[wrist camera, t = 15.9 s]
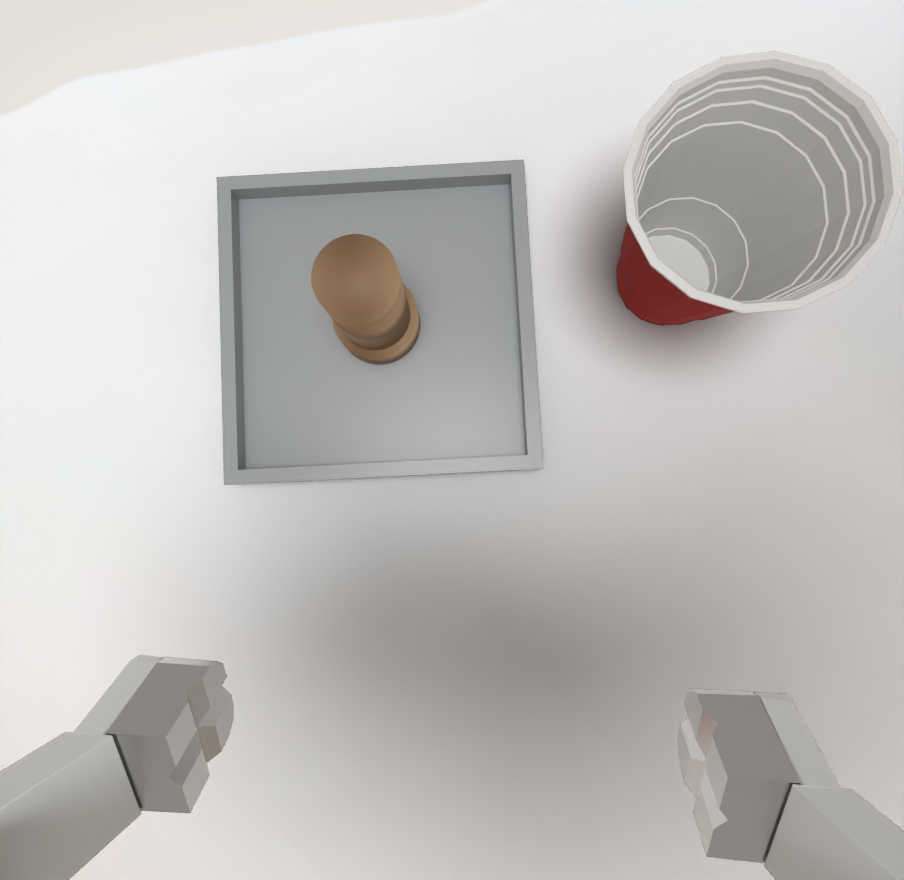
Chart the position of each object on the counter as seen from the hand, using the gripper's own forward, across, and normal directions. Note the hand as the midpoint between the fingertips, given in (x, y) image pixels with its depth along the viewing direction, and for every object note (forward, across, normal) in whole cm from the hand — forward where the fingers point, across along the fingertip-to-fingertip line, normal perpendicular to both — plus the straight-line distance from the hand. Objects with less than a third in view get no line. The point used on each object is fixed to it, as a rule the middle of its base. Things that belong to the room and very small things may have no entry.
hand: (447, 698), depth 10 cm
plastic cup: (+29, -10, -2) cm, 31 cm away
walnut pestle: (+26, +7, 0) cm, 27 cm away
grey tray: (+26, +7, 0) cm, 27 cm away
